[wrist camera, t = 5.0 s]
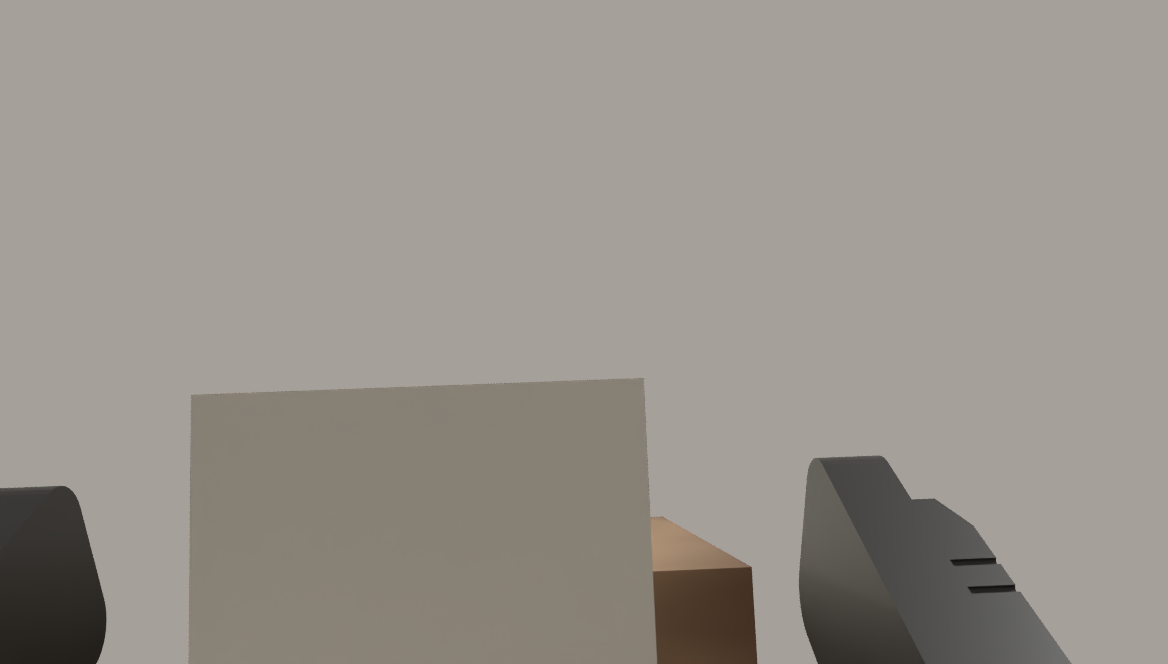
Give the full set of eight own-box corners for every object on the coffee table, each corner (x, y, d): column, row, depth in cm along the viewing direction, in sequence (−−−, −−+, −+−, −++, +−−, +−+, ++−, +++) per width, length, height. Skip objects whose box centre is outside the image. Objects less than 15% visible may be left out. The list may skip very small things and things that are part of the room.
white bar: (123, 1009, 8) (134, 284, 9) (458, 576, 37) (455, 415, 37) (731, 973, 8) (692, 267, 9) (592, 570, 37) (586, 409, 38)
